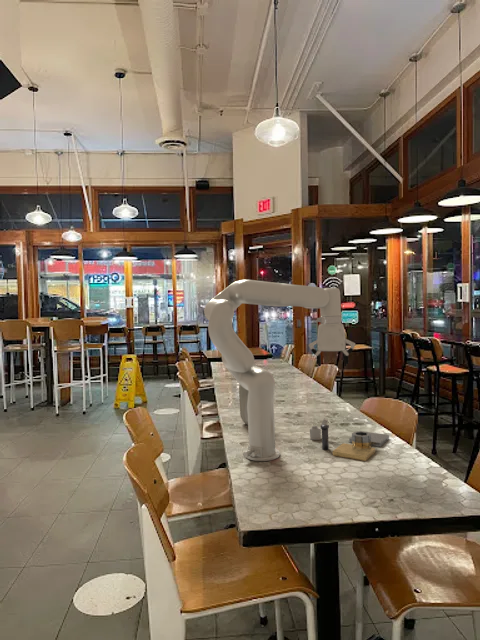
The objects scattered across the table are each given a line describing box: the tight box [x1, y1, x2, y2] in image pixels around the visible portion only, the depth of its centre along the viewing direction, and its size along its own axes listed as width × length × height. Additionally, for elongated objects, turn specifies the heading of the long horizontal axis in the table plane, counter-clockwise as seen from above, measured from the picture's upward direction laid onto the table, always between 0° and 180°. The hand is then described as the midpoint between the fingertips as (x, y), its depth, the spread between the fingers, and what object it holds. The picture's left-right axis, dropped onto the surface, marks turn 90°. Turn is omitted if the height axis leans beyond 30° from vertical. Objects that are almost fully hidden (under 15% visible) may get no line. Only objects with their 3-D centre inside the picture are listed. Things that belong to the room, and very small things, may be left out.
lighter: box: [309, 418, 329, 441], centre depth 178 cm, size 7×2×8 cm, turn 87°
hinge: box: [332, 430, 390, 462], centre depth 166 cm, size 27×12×5 cm, turn 146°
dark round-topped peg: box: [320, 424, 330, 451], centre depth 165 cm, size 3×3×9 cm
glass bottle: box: [238, 384, 249, 425], centre depth 202 cm, size 10×10×28 cm
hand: (332, 365), depth 169 cm, fingers open, 9 cm apart
